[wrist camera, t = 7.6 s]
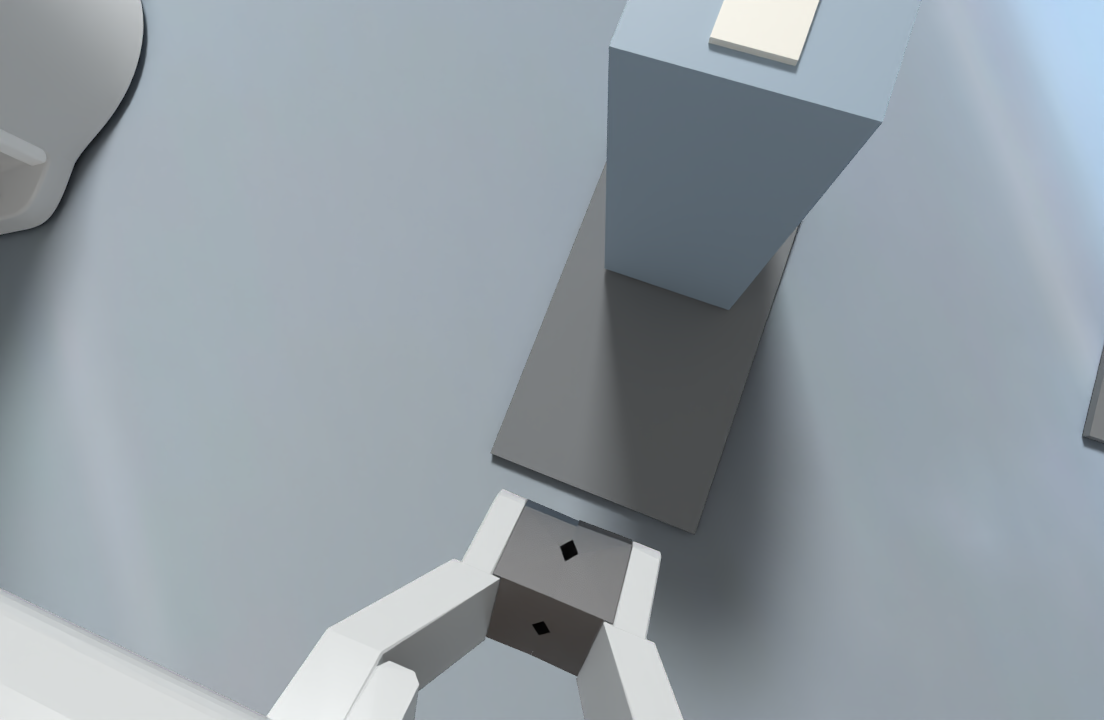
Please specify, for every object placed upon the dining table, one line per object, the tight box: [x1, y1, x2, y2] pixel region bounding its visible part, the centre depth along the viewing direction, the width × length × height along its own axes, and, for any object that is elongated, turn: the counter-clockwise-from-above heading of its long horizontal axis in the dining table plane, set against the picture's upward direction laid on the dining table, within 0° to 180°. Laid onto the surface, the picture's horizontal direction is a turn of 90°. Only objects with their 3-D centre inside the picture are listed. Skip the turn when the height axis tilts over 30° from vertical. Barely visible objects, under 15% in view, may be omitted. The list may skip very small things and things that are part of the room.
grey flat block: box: [491, 161, 798, 534], centre depth 22 cm, size 14×8×1 cm, turn 159°
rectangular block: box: [604, 0, 922, 310], centre depth 16 cm, size 5×5×12 cm
